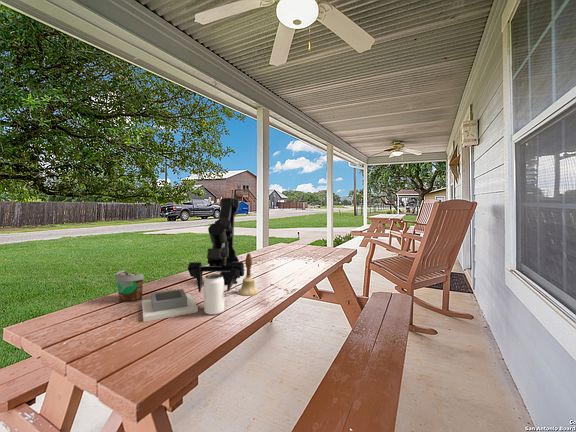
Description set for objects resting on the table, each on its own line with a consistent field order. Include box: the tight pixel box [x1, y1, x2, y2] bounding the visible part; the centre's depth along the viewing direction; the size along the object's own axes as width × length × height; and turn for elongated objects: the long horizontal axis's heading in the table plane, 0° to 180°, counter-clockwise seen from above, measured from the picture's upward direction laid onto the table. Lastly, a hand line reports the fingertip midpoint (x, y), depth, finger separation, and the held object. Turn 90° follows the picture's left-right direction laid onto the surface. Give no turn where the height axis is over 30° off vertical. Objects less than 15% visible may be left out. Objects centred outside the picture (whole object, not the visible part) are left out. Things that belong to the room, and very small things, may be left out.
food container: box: [114, 269, 145, 303], centre depth 102 cm, size 12×6×10 cm, turn 62°
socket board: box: [141, 288, 199, 323], centre depth 95 cm, size 16×16×4 cm
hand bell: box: [237, 252, 259, 297], centre depth 112 cm, size 8×8×16 cm
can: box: [203, 273, 225, 316], centre depth 92 cm, size 6×6×12 cm
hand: (213, 291), depth 91 cm, fingers open, 9 cm apart
